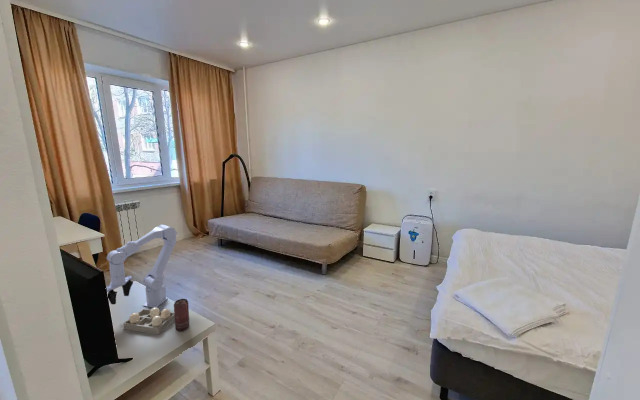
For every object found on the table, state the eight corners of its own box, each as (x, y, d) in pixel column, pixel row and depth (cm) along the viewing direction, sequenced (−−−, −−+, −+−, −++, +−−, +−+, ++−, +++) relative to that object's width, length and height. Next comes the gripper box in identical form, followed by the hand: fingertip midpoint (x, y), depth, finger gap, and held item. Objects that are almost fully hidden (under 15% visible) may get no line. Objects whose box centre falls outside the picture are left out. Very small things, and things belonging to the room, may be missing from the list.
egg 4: (165, 316, 136) (164, 306, 135) (172, 317, 136) (171, 307, 135) (159, 321, 133) (158, 311, 132) (166, 322, 132) (166, 312, 131)
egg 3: (156, 323, 131) (155, 313, 130) (164, 324, 130) (163, 314, 129) (150, 329, 127) (149, 318, 126) (158, 330, 126) (157, 319, 125)
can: (184, 333, 127) (182, 306, 124) (172, 330, 128) (170, 304, 125) (192, 325, 132) (191, 299, 130) (181, 323, 134) (179, 297, 131)
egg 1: (134, 320, 132) (133, 310, 131) (142, 321, 132) (141, 311, 131) (128, 325, 128) (127, 315, 127) (135, 327, 128) (134, 316, 127)
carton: (143, 313, 139) (143, 308, 139) (176, 318, 137) (175, 312, 137) (123, 329, 127) (123, 323, 127) (158, 334, 125) (158, 328, 125)
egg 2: (153, 315, 137) (152, 305, 136) (161, 315, 137) (160, 305, 136) (148, 320, 133) (147, 310, 132) (157, 320, 133) (156, 310, 132)
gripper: (122, 267, 140) (125, 291, 142) (96, 280, 126) (99, 306, 128) (135, 268, 139) (137, 292, 141) (109, 282, 125) (112, 308, 127)
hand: (120, 299), depth 135 cm, fingers open, 7 cm apart
